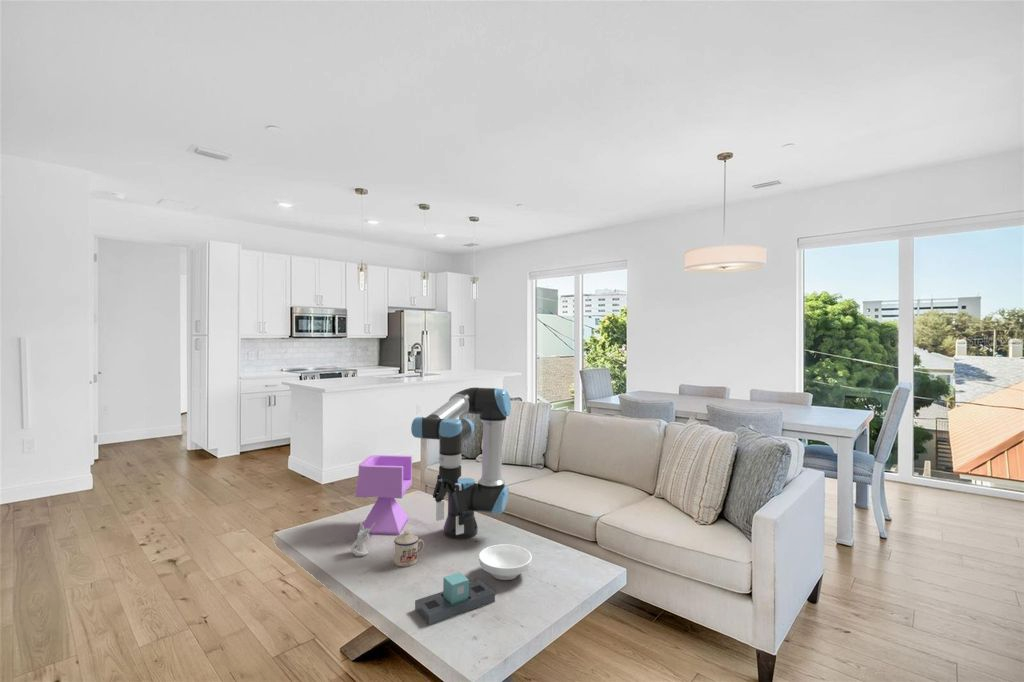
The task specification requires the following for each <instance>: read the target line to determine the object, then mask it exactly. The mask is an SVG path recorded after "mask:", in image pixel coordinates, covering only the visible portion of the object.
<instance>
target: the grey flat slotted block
mask: <svg viewBox="0 0 1024 682" xmlns="http://www.w3.org/2000/svg"><path fill="white" fill-rule="evenodd" d="M494 601H495V602H496V592H495V591H494V590H492V589H491V587H489V586H488V585H486V584H485V583H484V582H483V581H482V580H481V579H477V580H474V581H472V582H469V596H468V600H465V601H462V602H459V603H456V604H454V605H450V604H449V603H448V602H447V601H446V600H445V599H444V598H443V591H440V592H436V593H434V594H431V595H426V596H425V597H421V598H418V599H416V600H414V611H416V613H417V614H418V615H419V616H420V618H422V619H423V621H424V622H425V623H426V625H428V626H432V625H434V624H437V623H440V622H442V621H445V620H448V619H451V618H453V617H456V616H458V615H461V614H463V613H464V614H465V613H467V612H470V611H472V610H475V609H478V608H480V607H483V605H484V606H487V605H490V604H492V603H494ZM486 604H487V605H486Z"/></svg>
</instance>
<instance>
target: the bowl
mask: <svg viewBox="0 0 1024 682" xmlns="http://www.w3.org/2000/svg"><path fill="white" fill-rule="evenodd" d="M532 560H533V557H532V554H531V552H530V551H529V550H528V549H526V548H524V547H523V546H519V545H515V544H509V543H508V544H506V543H504V544H495V545H490V546H488V547H485V548H483V549H482V550H481V551H480V552H479V553H478V561H479V565H480V567H481V568H482V569H483V570H484V571H485V572H487V573H489V574H490V575H491V576H492V577H494V578H495V579H497V580H500V581H501V580H502V581H511V580H514V579H516V578H517V577H518V576H519V575H520V574H522V573H524V572H526V571H528V569H530V567H531V564H532Z"/></svg>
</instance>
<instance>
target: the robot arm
mask: <svg viewBox="0 0 1024 682" xmlns="http://www.w3.org/2000/svg"><path fill="white" fill-rule="evenodd" d="M511 407H512V405H511V398H510V395H509V392H508V391H507V390H506V389H504V388H498V387H497V388H493V387H469V388H466V389H463V390H459V391H458V392H456V393H454V394H453V395H451V396H450V397H449V399H448V400H447V402H446V403H444V404H443V405H441V406H440V407H439V408H437V409H436V410H435V411H433V412H431V413H430V414H429V415H428V416H426V417H424V416H420V417H419V416H418V417H414V419H413V420H412V423H411V427H410V428H411V435H412V436H413V437H414V438H418V439H422V440H423V439H425V440H436V441H437V440H438V441H439V443H438V445H439V447H438V448H439V457H438V460H439V466H438V474H437V476H436V478H437V479H436V484H435V486H434V491H433V493H432V498H433V499H434V500H435V502H436V503H435V504H436V511H435V516H436V518H435V520H436V521H437V522H440V521H442V520H445V522H444V525H443V531H442V532H443V535H444V536H445V537H448V538H451V539H454V540H455V539H456V540H464V539H465V540H466V539H470V538H472V537H475V536H476V535H478V531H479V530H478V529H479V528H478V527H479V526H478V523H477V520H476V516H475V512H479V513H488V514H502V513H503V512H504V511H505V509H506V506H507V504H508V499H509V493H510V490H509V487H508V486H507V485H505V480H504V479H503V478H502V468H503V467H502V462H503V461H502V460H503V459H502V458H503V456H502V455H503V428H504V426H503V423H505V422H506V421H507V417H510V415H511V410H512V408H511ZM465 414H471V415H479V421H481V423H482V449H481V450H482V451H481V452H482V455H481V460H482V461H481V477H480V478H479V479H478V482H477V483H476V481H475V479H474V478H472V477H464V478H463V477H462V478H460V477H461V476H462V466H461V464H462V447H463V446H462V444H463V443H464V442H465V441H467V440H469V439H470V438H471V436H473V434H474V432H475V426H474V422H473V421H472V420H471V419H469V418H467V417H463V418H459V417H460V416H464V415H465ZM458 418H459V419H458ZM446 495H447V516H446V519H445V496H446Z"/></svg>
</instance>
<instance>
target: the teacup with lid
mask: <svg viewBox="0 0 1024 682" xmlns="http://www.w3.org/2000/svg"><path fill="white" fill-rule="evenodd" d="M393 542H394V564H395V565H396V566H397V567H403V568H404V567H405V568H407V567H411V566H413V565H415V564H416V563H417V562H418V554H419V553H421V552H422V551H423V549H424V547H425V542H424V540H423V539H419V537H418V536H417V535H416V534H413V533H410V531H409V530H406V531H403V533H400V534H399V535H396V537H394V541H393ZM418 543H421V546H420V547H419V548H418V546H419V545H418Z"/></svg>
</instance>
